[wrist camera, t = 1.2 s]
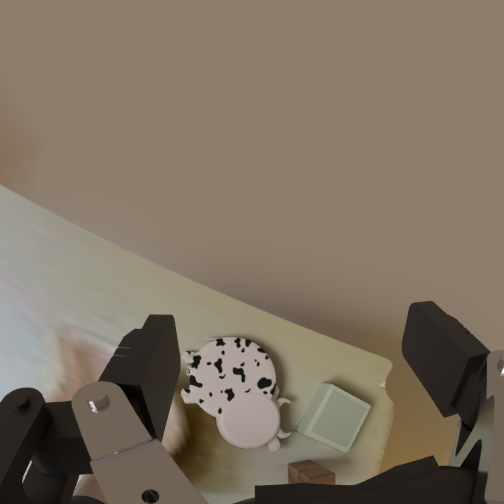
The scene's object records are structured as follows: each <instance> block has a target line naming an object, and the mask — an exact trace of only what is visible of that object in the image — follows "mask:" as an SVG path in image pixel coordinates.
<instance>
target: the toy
mask: <svg viewBox="0 0 504 504" xmlns="http://www.w3.org/2000/svg"><path fill="white" fill-rule="evenodd" d="M205 340H213V341H211V342H210V343H208V344H206V345H205V346H204V347H203V348H202V349H201V350H200V351H199V352H197V353H195V352H190V351H184V352H183V360H184V361H185V363H188V365H189V366H187V368H189V369H187V370H186V371H187V372H188V373H187V375H189V377H190V387H189V388H188V389H182V392H181V395H182V398H183V400H184V402H185V403H197V404H199V405H200V407H201V408H202V409H203V410H205V411H206V412H207V413H209V414H210V415H212V416H215V417H217V418H216V421H217V426H218V430H219V432H220V434H221V435H222V436H223V438H224V439H225V440H226V441H227V442H229V443H230V444H232V445H234V446H236V447H238V448H242V449H256V448H259V447H262V446H264V445H266V444H267V443H268V449H269V450H270V451H271V452H277V451H279V449H280V448H281V444H280V442H279V439H278V438H277V437H279V438H286V437H288V436H290V435H291V433H292V432H288V433H284V432H283V431H282V430H281V428H280V412H279V409H280V407H281V405H282V404H283V403H291V402H290V401H289V400H288V399H286V398H278V399H277V396H278V394H279V388H278V386H277V385H276V372H275V368H274V365H273V363H272V361H271V359H270V357H269V356H268V354H267V353H266V352H265V351H264V350H263V349H262V348H261V347H260V346H258V345H257V344H256V343H254V342H252V341H250V340H248V339H244V338H241V337H222V338H210V339H205Z"/></svg>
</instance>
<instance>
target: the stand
mask: <svg viewBox="0 0 504 504" xmlns="http://www.w3.org/2000/svg"><path fill="white" fill-rule="evenodd" d="M370 407H371V405H369V404H367V403H365V402H363V401H362V400H360V399H358V398H356V397H354V396H352V395H350V394H349V393H347V392H345V391H343V390H341V389H340V388H338V387H336V386H334V385H333V384H327V383H321V385H320V387H319V389H318V391H317V393H316V395H315V397H314V399H313V400H312V402H311V404H310V406H309V408H308V410H307V411H306V413H305V415H304V417H303V418H302V420H301V422H300V424H299V425H298V427H297V429H296V431H297V432H300V433H302V434H304V435H306V436H308V437H310V438H312V439H314V440H317V441H319V442H321V443H323V444H325V445H328V446H330V447H332V448H335V449H337V450H339V451H342V452H345V453H348V451H349V449H350V447H351V445H352V443H353V441H354V440H355V438H356V436H357V434H358V432H359V430H360V428H361V426H362V424H363V422H364V420H365V418H366V416H367V414H368V412H369V409H370Z"/></svg>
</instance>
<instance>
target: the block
mask: <svg viewBox="0 0 504 504" xmlns="http://www.w3.org/2000/svg"><path fill="white" fill-rule="evenodd" d="M288 477H289V483H290V484H294V483H314V484H329V485H335V473H333V472H331V471H329V470H327V469H325V468H323V467H322V466H320V465H318V464H316V463H314V462H312V461H310V460H305V461H300V462H295V463H290V464H288Z"/></svg>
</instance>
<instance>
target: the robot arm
mask: <svg viewBox="0 0 504 504" xmlns="http://www.w3.org/2000/svg"><path fill="white" fill-rule="evenodd" d="M402 353H403V356H404V358H405V360H406V361H407V362H408V364H409V365H410V367H411V368H412V370H413V371H414V373H415V374H416V375H417V377H418V379H419V380H420V382H421V383H422V385H423V386H424V388H425V389H426V391H427V392H428V394H429V395H430V396H431V398H432V400H433V401H434V403H435V404H436V406H437V407H438V409H439V411H440V412H441V414H442V415H443V417H444V418H445V417H448V416H452V415H455V414H459V416H460V417H461V418H460V420H459V422H458V425H457V430H456V435H455V440H454V444H453V449H452V453H451V457H450V461H449V464H448V466H438V464H437V462H436V460H435V458H434V456H430V457H426V458H423V459H420V460H416V461H413V462H409V463H406V464H402V465H398V466H395V467H393V468H391V469H389V470H387V471H385V472H383V473H381V474H379V475H377V476H375V477H372V478H370V479H368V480H366V481H364V482H361V483H359V484H356V485H329V484H314V483H294V484H281V485H262V486H255V498H251V499H247V500H243V501H240V502H237V503H234V504H504V351H502V350H498V351H493V352H490V351H489V350H488V349H487V348H486V347H485V346H484V345H483V344H482V343H481V342H480V341H479V340H478V339H477V338H476V337H474V335H473V334H470V332H469V331H468V330H467V329H466V328H464V327H463V325H462V324H461V323H460V322H459V321H458V320H457V319H455V318H453V317H451V316H450V315H448V314H446V313H445V312H444V311H442V309H440V308H439V307H438V306H437V305H436V304H435V303H434V302H433V301H425V302H417V303H412V304H411V305H410V307H409V311H408V316H407V321H406V326H405V331H404V336H403V339H402ZM113 355H114V356H112V358H111V359H110V361H109V363H108V364H107V366H106V368H105V370H104V371H103V373H102V375H101V377H100V378H99V380H98V382H93V383H90V384H87V385H85V386H83V387H81V388H80V389H79V390H78V391H77V392H76V393H75V394H74V396H73V398H72V401H66V402H50V403H46V402H45V400H44V398H43V396H42V394H41V393H40V392H39V391H38V390H36V389H34V388H28V387H27V388H19V389H16V390H14V391H12V392H10V393H9V394H7V395H6V396H5V397H4V398H3V400H2V401H1V402H0V504H208V503H207V502H206V500H205V499H204V498H203V497H202V496H201V495H200V493H199V492H198V491H197V490H196V489H195V487H194V486H193V485H192V484H191V482H190V481H189V480H188V479H187V477H186V476H185V475H184V474H183V472H182V471H181V470H180V468H179V467H178V466H177V464H176V463H175V462H174V460H173V459H172V458H171V456H170V455H169V454H168V452H167V451H166V449H165V448H164V447H163V445H162V444H161V442H162V438H163V434H164V430H165V426H166V422H167V418H168V415H169V411H170V407H171V403H172V399H173V396H174V392H175V388H176V384H177V381H178V377H179V373H180V365H181V361H180V351H179V345H178V339H177V333H176V326H175V320H174V317H173V315H153V314H151V315H149V316H148V318H147V320H146V322H145V323H144V325H143V327H142V329H134V330H132V331H131V332H130V333H128V334H127V335H126V336H124V337H123V339H122V341H121V342H120V344H119V346H118V348H117V349H116V351H115V352H114V354H113ZM30 460H31V461H32V464H31V466H30V468H29V470H28V472H27V475H26V477H25V479H24V482H23V484H22V479H23V476H24V473H25V471H26V469H27V467H28V465H29V462H30ZM83 474H85V475H84V476H83V477H82V478H81V480H80V481H79V482H78V484H77V481H78V478H79V475H83ZM76 484H77V485H76Z"/></svg>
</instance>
